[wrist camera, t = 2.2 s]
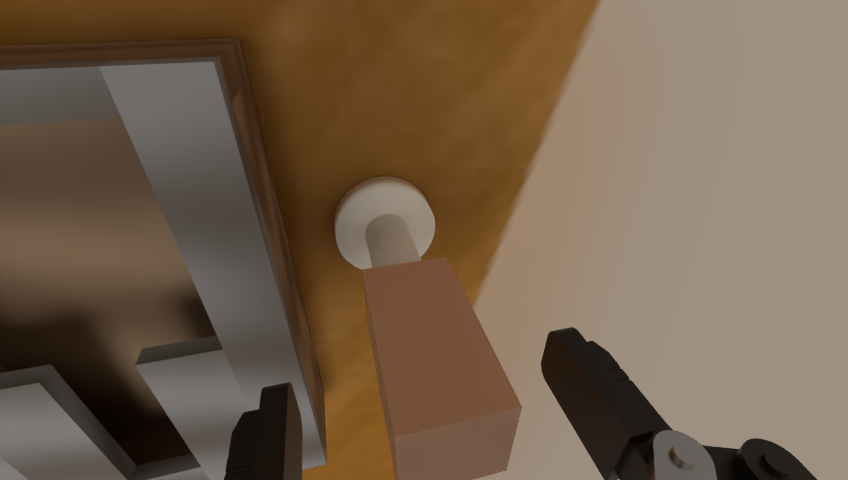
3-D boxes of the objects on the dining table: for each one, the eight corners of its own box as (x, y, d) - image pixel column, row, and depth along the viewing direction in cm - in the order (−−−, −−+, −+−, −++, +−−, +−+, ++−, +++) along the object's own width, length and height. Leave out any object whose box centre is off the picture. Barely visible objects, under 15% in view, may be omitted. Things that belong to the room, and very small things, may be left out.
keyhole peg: (327, 181, 17) (353, 426, 8) (429, 171, 18) (559, 377, 9) (340, 264, 20) (370, 521, 10) (428, 251, 20) (528, 476, 11)
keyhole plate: (-312, 54, 10) (-647, 97, 7) (239, 37, 13) (213, 61, 10) (69, 444, 22) (20, 539, 18) (323, 390, 25) (327, 463, 21)
